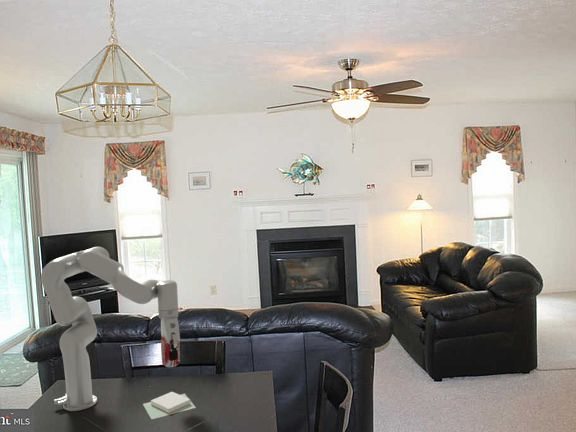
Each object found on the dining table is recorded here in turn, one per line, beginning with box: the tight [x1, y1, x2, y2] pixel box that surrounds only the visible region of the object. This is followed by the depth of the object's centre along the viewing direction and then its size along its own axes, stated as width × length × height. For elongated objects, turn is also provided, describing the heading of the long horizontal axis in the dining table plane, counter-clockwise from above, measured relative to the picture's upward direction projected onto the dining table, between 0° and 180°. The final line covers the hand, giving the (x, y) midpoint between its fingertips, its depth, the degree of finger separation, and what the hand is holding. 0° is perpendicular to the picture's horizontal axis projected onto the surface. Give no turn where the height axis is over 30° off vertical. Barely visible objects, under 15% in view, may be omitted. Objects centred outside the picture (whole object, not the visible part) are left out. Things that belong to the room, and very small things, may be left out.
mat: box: [142, 393, 197, 420], centre depth 200 cm, size 17×15×1 cm
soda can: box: [160, 335, 181, 368], centre depth 201 cm, size 7×7×12 cm
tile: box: [150, 391, 191, 414], centre depth 201 cm, size 2×12×10 cm
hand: (170, 356), depth 201 cm, fingers closed on soda can, 7 cm apart
